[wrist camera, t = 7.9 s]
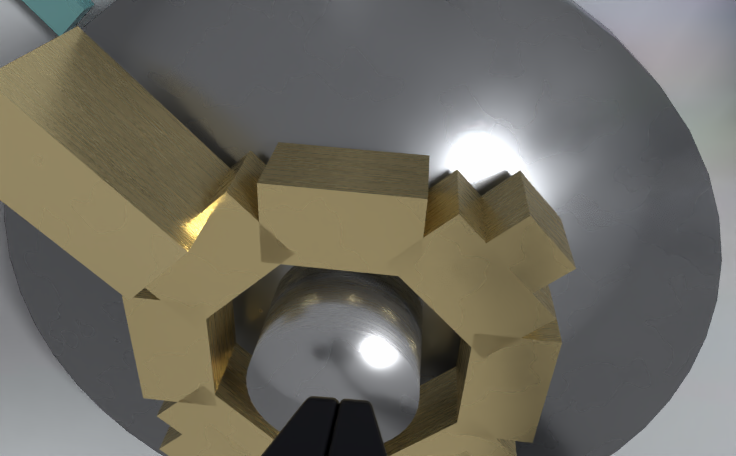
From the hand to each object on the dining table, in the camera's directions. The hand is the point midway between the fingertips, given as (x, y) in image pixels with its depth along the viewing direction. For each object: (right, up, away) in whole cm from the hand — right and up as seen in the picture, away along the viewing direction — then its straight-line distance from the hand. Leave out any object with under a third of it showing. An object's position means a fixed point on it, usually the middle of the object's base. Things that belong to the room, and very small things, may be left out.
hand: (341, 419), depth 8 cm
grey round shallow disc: (0, +1, +14) cm, 14 cm away
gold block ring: (-2, +1, +12) cm, 12 cm away
